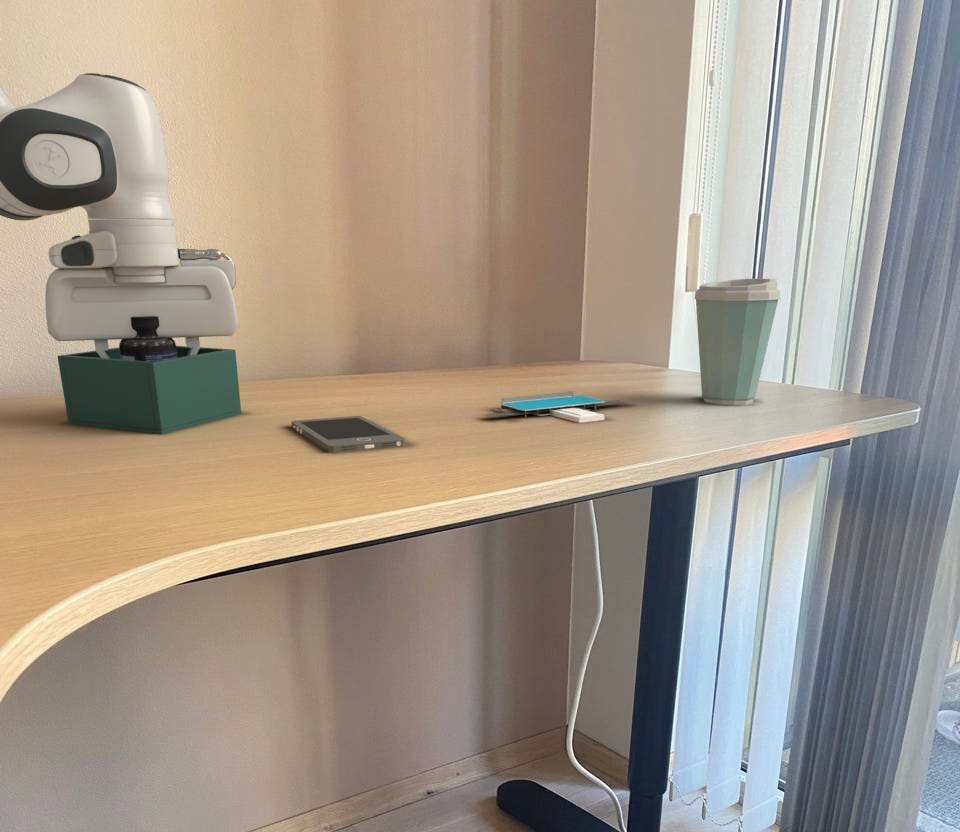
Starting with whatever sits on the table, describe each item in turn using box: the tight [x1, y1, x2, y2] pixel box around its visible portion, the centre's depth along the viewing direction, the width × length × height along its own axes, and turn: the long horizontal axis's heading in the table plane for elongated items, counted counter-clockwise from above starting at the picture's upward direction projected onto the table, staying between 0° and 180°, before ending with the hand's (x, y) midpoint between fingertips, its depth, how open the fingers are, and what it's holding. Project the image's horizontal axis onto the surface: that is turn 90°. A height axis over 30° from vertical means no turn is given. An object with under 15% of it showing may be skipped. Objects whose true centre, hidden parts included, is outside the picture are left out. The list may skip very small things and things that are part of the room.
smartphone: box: [291, 415, 406, 454], centre depth 102 cm, size 15×8×1 cm, turn 25°
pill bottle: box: [118, 316, 177, 362], centre depth 109 cm, size 6×6×11 cm
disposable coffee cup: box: [693, 278, 781, 406], centre depth 121 cm, size 11×11×15 cm
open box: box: [57, 345, 242, 435], centre depth 109 cm, size 14×14×8 cm
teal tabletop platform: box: [485, 390, 625, 424], centre depth 115 cm, size 20×12×2 cm, turn 121°
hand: (152, 379), depth 109 cm, fingers closed on pill bottle, 6 cm apart
